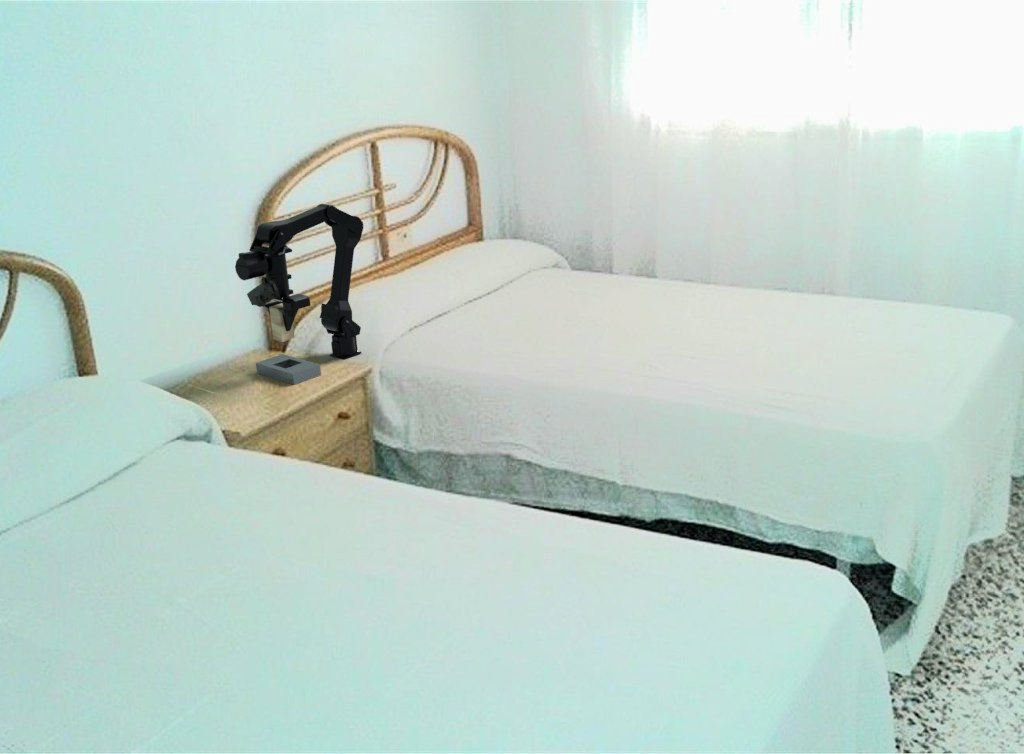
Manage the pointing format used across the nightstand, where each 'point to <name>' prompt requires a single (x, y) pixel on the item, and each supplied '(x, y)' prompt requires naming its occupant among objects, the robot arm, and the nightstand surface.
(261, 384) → the nightstand surface
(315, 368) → the grey slotted block
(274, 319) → the ash peg
